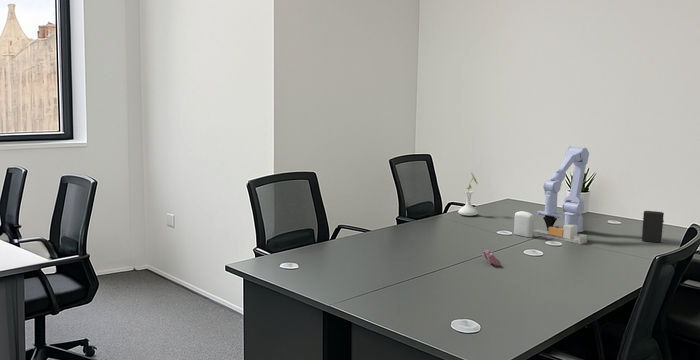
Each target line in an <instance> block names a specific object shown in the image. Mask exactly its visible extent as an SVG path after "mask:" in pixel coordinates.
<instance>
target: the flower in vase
mask: <svg viewBox="0 0 700 360" xmlns="http://www.w3.org/2000/svg"><path fill="white" fill-rule="evenodd" d="M470 175H471V180H470V181H469V184H468V187H467V188H466V189H467V190H465V191H464V193H465V196H466V203H465V205H463V206H462V207H461V208H460V209H459V210H458V211H457V212H458V214H459V215H461V216H469V217H470V216H476V215H478V214H479V212H478V210H477V209H476V208H475V207H474V206H473V205H472V204H471V199H472V195H473V193H474V191H473V190H470V189H472V186H471V182H472V181H474V183H475V184H476V185H478V181H477V178H476V177H475V174H474V173H473V172H472V171H471V172H470Z"/></svg>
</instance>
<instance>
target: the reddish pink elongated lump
mask: <svg viewBox="0 0 700 360" xmlns="http://www.w3.org/2000/svg"><path fill="white" fill-rule="evenodd" d="M482 258H485V260H486V262H487V264H489V265H494V266H496V267H500V266H501V264H502V262H501V261H500V260H499V259H498V258H497V257H496V256H495V255H494V254H493V251H491V250H490V249H485V250H483V251H482Z"/></svg>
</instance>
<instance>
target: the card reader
mask: <svg viewBox="0 0 700 360" xmlns="http://www.w3.org/2000/svg"><path fill="white" fill-rule="evenodd" d="M664 214H665V213H664V212H662V211H655V210H643V218H642V233H641V241H642V242H647V243H649V242H650V243H656V244H657V243H662V236H663V229H664V228H663V227H664V221H665V220H664Z"/></svg>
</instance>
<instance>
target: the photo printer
mask: <svg viewBox="0 0 700 360" xmlns="http://www.w3.org/2000/svg"><path fill="white" fill-rule="evenodd" d="M513 221H514V223H513V235H516V236H521V237H525V238H533V237H534V234H533V230H534V227H535V225H534V223H535V216H534V215H533V214H532V213H531V212H528V211H523V210H522V211H521V210H520V211H516V212H515V214H514V220H513Z"/></svg>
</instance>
